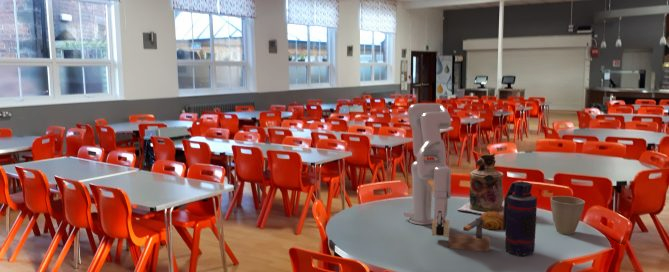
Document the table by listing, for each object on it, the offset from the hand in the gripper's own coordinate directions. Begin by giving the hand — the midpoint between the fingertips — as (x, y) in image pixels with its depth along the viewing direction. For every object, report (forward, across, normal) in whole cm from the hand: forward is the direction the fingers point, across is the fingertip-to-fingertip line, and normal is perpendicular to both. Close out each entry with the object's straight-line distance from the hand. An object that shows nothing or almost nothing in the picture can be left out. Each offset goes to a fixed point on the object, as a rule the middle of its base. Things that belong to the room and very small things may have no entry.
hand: (440, 232), depth 238 cm
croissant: (+4, -31, +22) cm, 38 cm away
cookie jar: (+4, -61, +17) cm, 63 cm away
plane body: (+4, +6, +13) cm, 15 cm away
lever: (-8, +12, +15) cm, 20 cm away
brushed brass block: (+1, 0, 0) cm, 1 cm away
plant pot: (+4, -31, +55) cm, 63 cm away
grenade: (+4, +4, +33) cm, 33 cm away
